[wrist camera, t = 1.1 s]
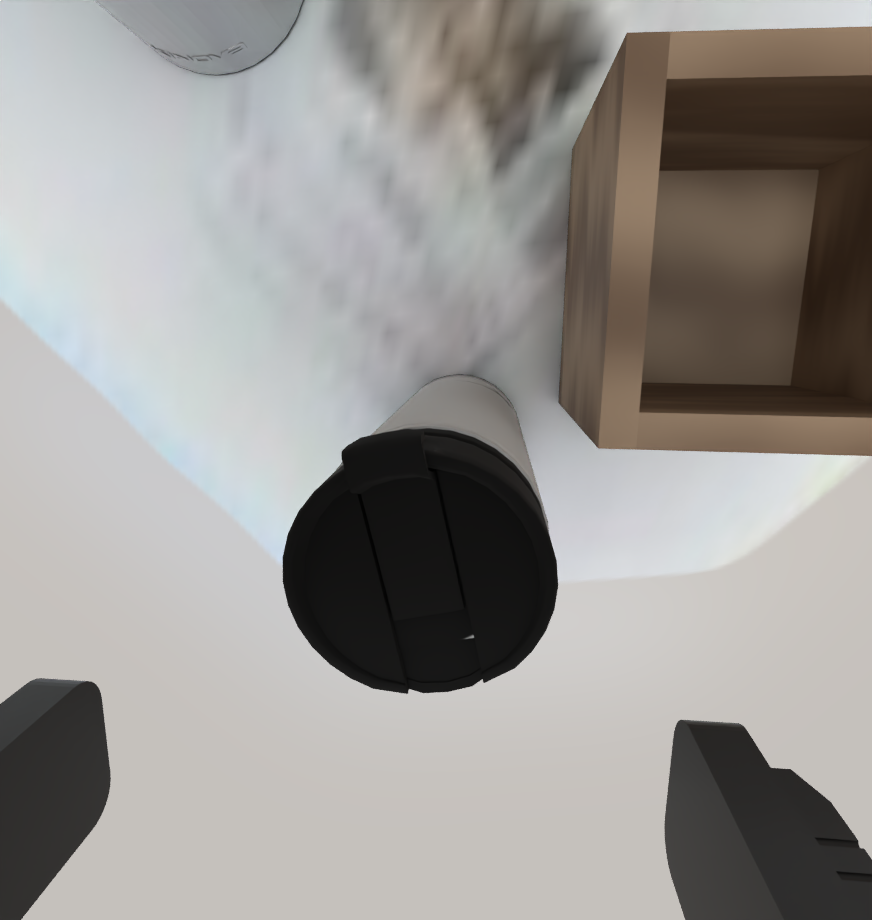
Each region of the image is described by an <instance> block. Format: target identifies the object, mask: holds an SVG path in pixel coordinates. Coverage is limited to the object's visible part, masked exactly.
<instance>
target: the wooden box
mask: <svg viewBox="0 0 872 920" xmlns="http://www.w3.org/2000/svg"><path fill="white" fill-rule="evenodd" d="M559 404H560V405H561V406H562V407H563V408H564V409H565V411H566V412H567V413H568V414H569V415H570V416H571V418H572V419H573V420H574V421H575V422H576V423H577V424H578V426H579V427H580V428H581V429H582V430H583V431H584V432H585V434H586V435H587V436H588V437H589V438H590V439H591V440H592V442H593V443H594V444H595V445H596V446H597V447H598V448H605V449H641V450H678V451H714V452H750V453H787V454H823V455H859V456H872V27H839V28H800V29H760V30H721V31H681V32H642V33H627V34H626V36H625V38H624V41H623V43H622V45H621V47H620V49H619V51H618V53H617V55H616V58H615V60H614V62H613V64H612V66H611V68H610V70H609V72H608V75H607V77H606V79H605V81H604V83H603V85H602V87H601V89H600V92H599V94H598V96H597V98H596V100H595V102H594V104H593V106H592V109H591V111H590V113H589V115H588V117H587V119H586V121H585V123H584V126H583V128H582V130H581V132H580V134H579V136H578V138H577V140H576V143H575V145H574V147H573V149H572V165H571V184H570V202H569V221H568V239H567V258H566V276H565V294H564V313H563V331H562V350H561V368H560V387H559Z"/></svg>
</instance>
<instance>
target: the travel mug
mask: <svg viewBox="0 0 872 920" xmlns="http://www.w3.org/2000/svg"><path fill="white" fill-rule="evenodd" d="M283 584H284V589H285V593H286V598H287V602H288V606H289V608H290V610H291V613H292V615H293V617H294V619H295V621H296V624H297V626H298V628H299V629H300V630H301V632H302V633H303V635H304V636H305V638H306V639H307V640H308V642H309V643H310V644H311V646H312V647H313V648H314V649H315V650H316V651H317V652H318V653H319V654H320V655H321V656H322V657H323V658H324V659H325V660H326V661H327V662H328V663H329V664H330V665H332V666H333V667H335V668H336V669H338V670H339V671H341V672H342V673H344V674H345V675H347V676H348V677H350V678H351V679H353V680H356V681H358V682H360V683H363V684H364V685H367V686H369V687H371V688H373V689H379V690H386V691H393V692H399V693H406V694H407V693H408V690H409V689H412V690H415V691H419V692H422V693H433V692H449V691H452V690H457V689H462V688H466V687H470V686H473V685H474V684H476V683H477V682H479V681H480V680H481V679H483V682H484V683H485V682H487V681H489V680H491V679H493V678H495V677H497V676H500V675H501V674H504V673H506V672H508V671H510V670H512V669H514V668H515V667H517V665H519V664H520V663H521V662H522V661H523V660H524V659H525V658H526V657H527V656H528V655H529V654H530V653H531V652H532V651H533V649H534V648H535V646H536V645H537V643H538V642H539V640H540V639H541V637H542V636H543V634H544V633H545V631H546V629H547V626H548V624H549V621H550V619H551V616H552V614H553V611H554V608H555V602H556V595H557V589H558V577H557V562H556V557H555V554H554V550H553V547H552V543H551V540H550V536H549V530H548V521H547V517H546V514H545V511H544V507H543V504H542V500H541V497H540V493H539V490H538V487H537V483H536V480H535V476H534V473H533V469H532V466H531V463H530V459H529V456H528V452H527V449H526V445H525V442H524V439H523V435H522V432H521V428H520V425H519V421H518V418H517V415H516V411H515V410H514V408H513V406H512V404H511V402H510V401H509V399H508V398H507V397H506V396H505V394H504V393H503V392H502V391H501V390H499V389H498V388H497V387H496V386H494V385H493V384H491V383H489V382H488V381H486V380H484V379H481V378H478V377H474V376H471V375H460V374H459V375H449V376H445V377H442V378H438V379H436V380H434V381H432V382H430V383H428V384H426V385H425V386H424V387H423V388H421V389H420V390H419V391H418V392H417V393H416V394H415V395H414V396H412V397H411V398H410V399H409V400H408V401H407V402H406V403H405V404H404V405H403V406H402V407H401V408H400V409H398V410H397V411H396V412H395V413H394V414H393V415H392V416H391V417H390V418H389V419H388V420H387V421H386V422H384V423H383V424H382V425H381V426H380V427H379V428H378V429H377V430H376V431H375V432H374V433H373V434H372V435H371V436H366V437H362V438H360V439H358V440H356V441H355V442H353V443H351V444H350V445H348V446H347V447H346V448H345V449H344V450H343V451H342V463H341V465H340V466H339V467H338V468H337V470H336V471H335V472H334V473H333V474H332V475H331V476H330V477H329V478H328V479H327V480H326V481H325V482H324V483H323V484H322V485H321V486H320V487H319V488H318V489H316V490H315V491H314V492H313V494H312V495H311V496H310V498H309V499H308V500H307V501H306V503H305V504H304V505H303V507H302V508H301V509H300V510H299V512H298V514H297V516H296V518H295V520H294V522H293V524H292V527H291V529H290V531H289V533H288V536H287V541H286V545H285V550H284V555H283Z"/></svg>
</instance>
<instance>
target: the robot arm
mask: <svg viewBox="0 0 872 920" xmlns="http://www.w3.org/2000/svg"><path fill="white" fill-rule="evenodd" d="M94 1H95V2H96V3H98V4H99V5H100V6H101V7H102V8H104V9H105V10H106V11H107V12H109V13H110V14H111V15H112V16H113V17H114V18H116V19H117V20H118V21H119V22H121V23H122V24H123V25H124V26H125V27H127V28H128V29H129V30H130V31H132V32H133V33H134V34H135V35H136V36H138V37H139V38H140V39H141V40H143V41H144V42H145V43H146V44H147V45H149V46H150V47H151V48H152V49H154V50H155V51H156V52H157V53H159V54H160V55H161V56H163V57H164V58H166V59H167V60H169V61H171V62H172V63H174V64H175V65H177V66H179V67H182V68H185V69H188V70H190V71H193V72H196V73H203V74H213V75H220V74H227V73H233V72H238V71H240V70H243V69H245V68H248V67H250V66H253V65H255V64H256V63H258V62H259V61H261V60H262V59H263V58H265V57H266V56H268V55H269V54H270V53H272V52H273V51H274V49H275V48H276V47H277V46H278V45H279V44H280V43H281V42H282V41H283V39H284V38H285V37H286V36H287V34H288V32H289V30H290V29H291V27H292V25H293V24H294V22H295V20H296V18H297V16H298V13H299V10H300V7H301V4H302V1H303V0H94ZM110 779H111V778H110V767H109V758H108V749H107V740H106V732H105V723H104V714H103V705H102V697H101V693H100V690H99V688H98V687H97V685H96V684H95V683H93V682H89V681H74V680H57V679H42V678H40V679H35V680H32V681H30V682H29V683H27V684H26V685H24V686H23V687H22V688H21V689H19V690H18V691H17V692H15V693H14V694H13V695H11V696H10V697H9V698H8V699H6V700H5V701H4V702H2V703H1V704H0V920H21V919H22V918H23V916H24V915H25V914H26V913H27V911H28V910H29V908H31V906H32V905H33V904H34V902H35V901H36V900H37V899H38V897H39V896H40V895H41V894H42V892H43V891H44V890H45V889H46V887H47V886H48V885H49V883H50V882H51V881H52V879H53V878H54V877H55V876H56V875H57V873H58V872H59V871H60V870H61V868H62V867H63V866H64V865H65V863H66V862H67V861H68V860H69V858H70V857H71V855H72V854H73V853H74V852H75V851H76V849H77V848H78V847H79V846H80V844H81V843H82V842H83V840H84V839H85V838H86V837H87V835H88V834H89V833H90V832H91V830H92V829H93V828H94V826H95V825H96V824H97V822H98V820H99V818H100V816H101V814H102V812H103V810H104V807H105V805H106V801H107V798H108V794H109V789H110ZM665 844H666V853H667V859H668V865H669V869H670V873H671V877H672V880H673V883H674V886H675V889H676V892H677V895H678V899H679V902H680V904H681V908H682V911H683V914H684V917H685V920H872V859H871V858H870V856H869V855H868V854H867V852H866V851H865V849H861V848H860V847H859V845H858V840H857V838H856V837H855V835H854V834H853V833H852V831H851V830H850V829H849V827H848V826H847V824H846V823H845V821H844V820H843V819H842V817H841V816H840V814H839V813H838V812H837V810H836V809H835V808H834V806H833V805H832V803H831V802H830V801H829V800H827V799H826V798H825V797H824V796H823V795H821V794H820V793H819V792H818V791H817V790H815V789H814V788H813V787H812V786H810V785H809V784H808V783H807V782H805V781H804V780H803V779H802V778H801V777H799V776H798V775H797V774H796V773H794V772H793V771H792V770H791V769H778V768H777V769H776V768H770V767H769V765H768V763H767V761H766V760H765V758H764V757H763V755H762V753H761V752H760V751H759V749H758V747H757V746H756V744H755V742H754V741H753V739H752V738H751V736H750V735H749V733H748V731H747V730H746V729H745V727H744V726H742V725H741V724H739V723H723V722H707V721H691V720H680V721H678V723H677V725H676V727H675V731H674V738H673V747H672V756H671V767H670V776H669V785H668V795H667V804H666V814H665Z"/></svg>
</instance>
